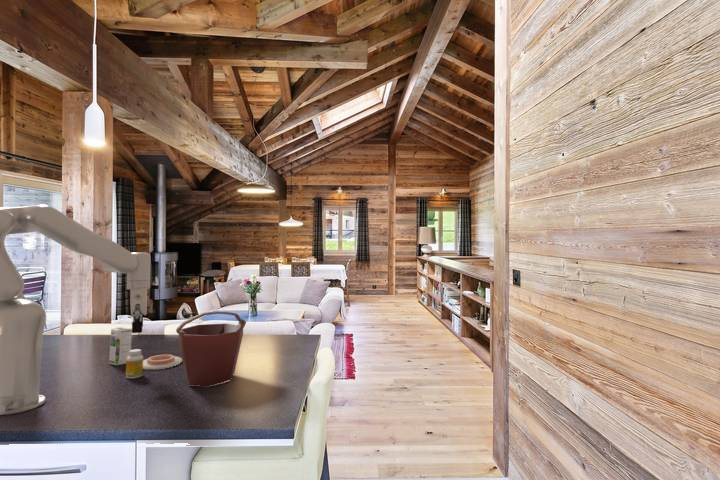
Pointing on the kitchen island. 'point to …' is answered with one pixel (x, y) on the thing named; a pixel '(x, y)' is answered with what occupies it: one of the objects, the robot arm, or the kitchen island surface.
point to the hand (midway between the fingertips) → (137, 329)
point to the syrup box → (120, 345)
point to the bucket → (210, 350)
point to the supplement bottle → (134, 364)
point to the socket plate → (161, 362)
